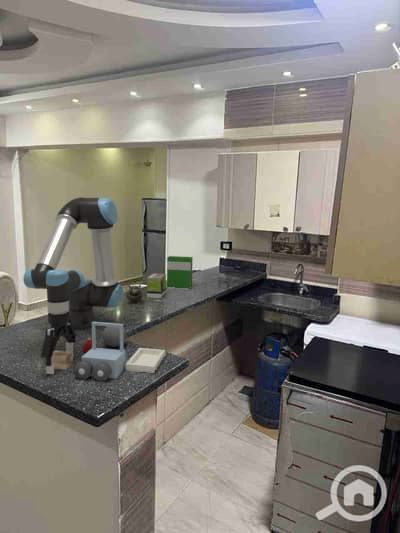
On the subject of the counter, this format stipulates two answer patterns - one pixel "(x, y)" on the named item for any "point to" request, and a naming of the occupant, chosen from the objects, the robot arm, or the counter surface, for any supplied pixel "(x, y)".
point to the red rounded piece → (87, 346)
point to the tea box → (156, 285)
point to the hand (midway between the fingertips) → (60, 365)
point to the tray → (145, 360)
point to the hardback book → (179, 272)
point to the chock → (62, 359)
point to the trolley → (102, 359)
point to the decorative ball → (113, 336)
